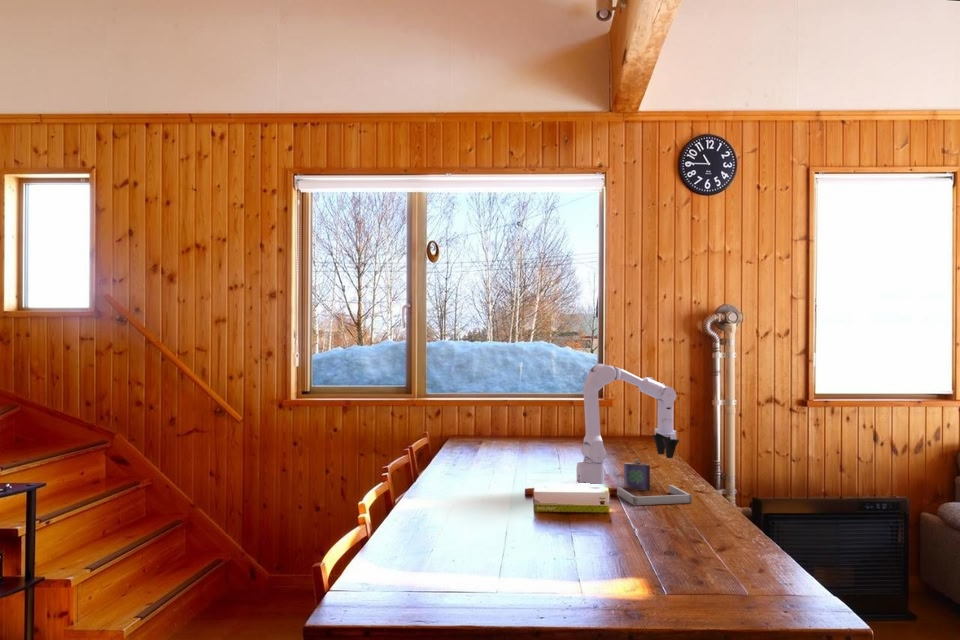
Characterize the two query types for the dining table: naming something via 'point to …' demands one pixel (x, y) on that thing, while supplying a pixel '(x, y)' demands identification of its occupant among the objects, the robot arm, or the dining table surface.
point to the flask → (637, 475)
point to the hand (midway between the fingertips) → (665, 456)
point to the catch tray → (657, 497)
